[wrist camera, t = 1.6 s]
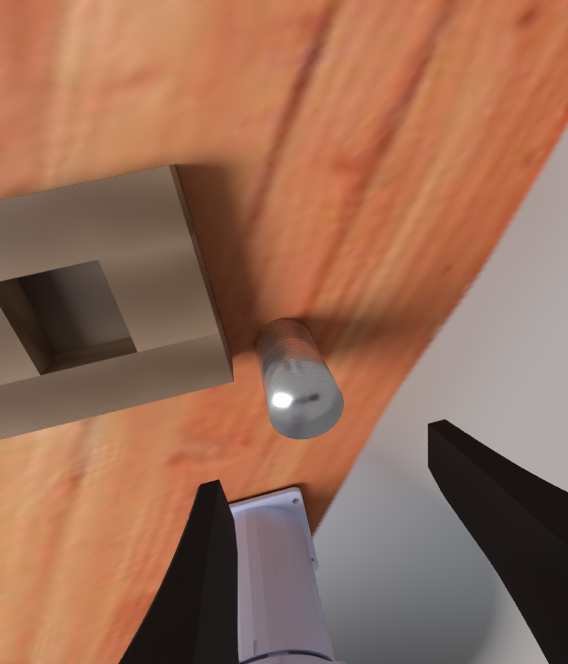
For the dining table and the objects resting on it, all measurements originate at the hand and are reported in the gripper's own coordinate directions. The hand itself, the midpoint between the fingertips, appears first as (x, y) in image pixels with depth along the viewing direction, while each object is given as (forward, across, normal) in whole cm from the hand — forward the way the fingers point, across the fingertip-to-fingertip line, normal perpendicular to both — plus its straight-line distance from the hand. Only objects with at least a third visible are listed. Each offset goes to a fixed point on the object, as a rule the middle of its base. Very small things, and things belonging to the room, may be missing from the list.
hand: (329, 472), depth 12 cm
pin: (+9, 0, 0) cm, 9 cm away
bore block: (+9, +9, -5) cm, 14 cm away
